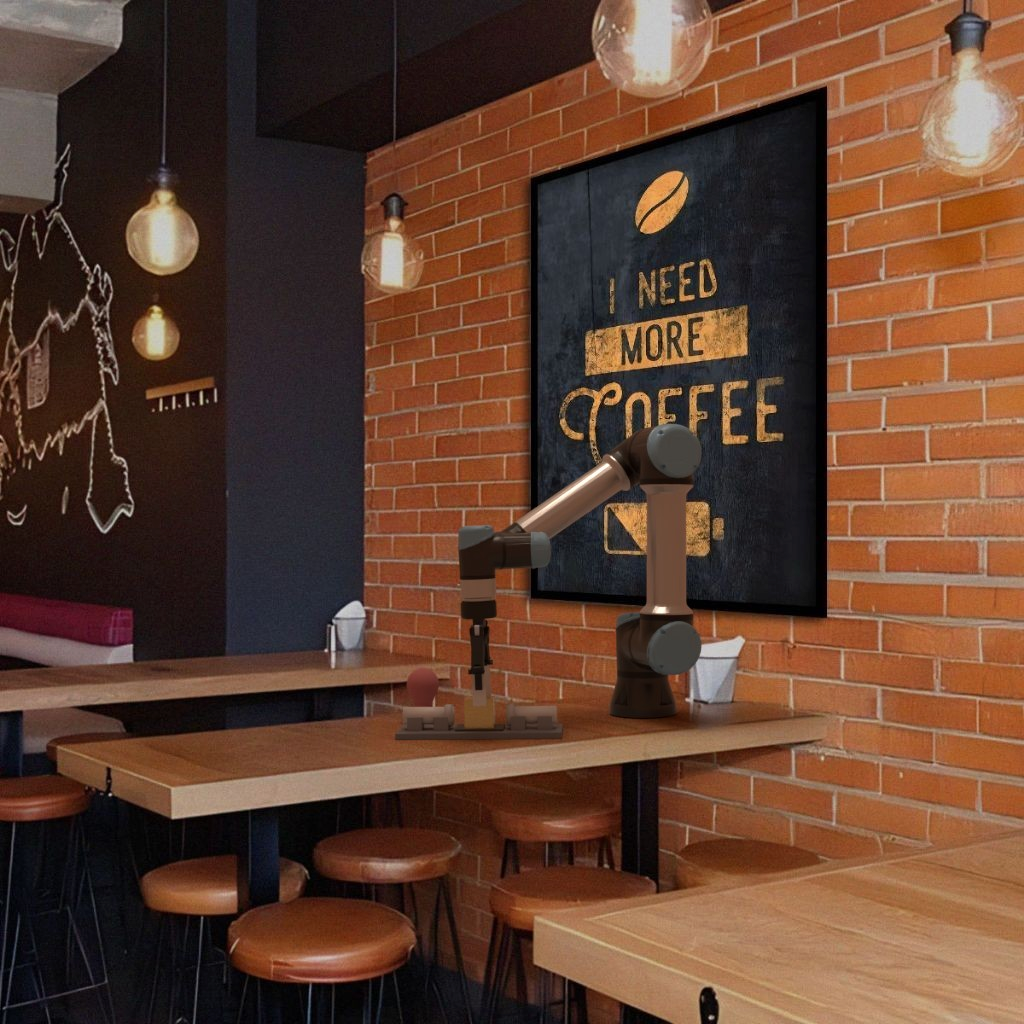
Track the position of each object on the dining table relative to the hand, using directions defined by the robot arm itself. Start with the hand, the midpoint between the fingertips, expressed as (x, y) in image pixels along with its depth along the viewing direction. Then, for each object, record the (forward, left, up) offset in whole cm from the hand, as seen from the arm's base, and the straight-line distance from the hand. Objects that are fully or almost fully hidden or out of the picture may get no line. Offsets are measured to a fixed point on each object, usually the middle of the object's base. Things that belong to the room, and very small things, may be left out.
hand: (482, 701), depth 278 cm
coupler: (+1, 0, -5) cm, 5 cm away
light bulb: (+14, -17, -7) cm, 23 cm away
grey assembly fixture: (0, 0, -7) cm, 7 cm away
